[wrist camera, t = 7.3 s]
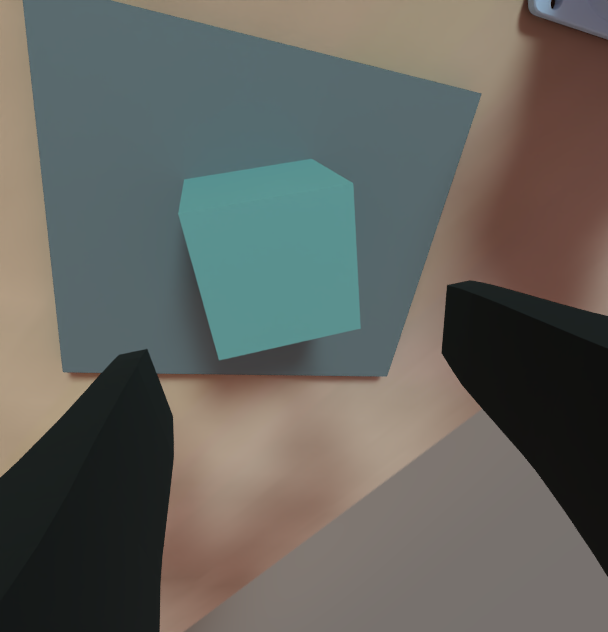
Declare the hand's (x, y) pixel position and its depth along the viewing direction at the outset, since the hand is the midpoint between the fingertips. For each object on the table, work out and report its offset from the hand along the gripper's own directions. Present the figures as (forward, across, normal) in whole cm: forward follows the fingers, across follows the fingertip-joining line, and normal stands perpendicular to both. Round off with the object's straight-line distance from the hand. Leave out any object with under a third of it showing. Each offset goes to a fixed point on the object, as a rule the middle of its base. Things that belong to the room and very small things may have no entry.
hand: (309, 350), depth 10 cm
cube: (+9, 0, 0) cm, 9 cm away
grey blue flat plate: (+9, 0, 0) cm, 9 cm away
